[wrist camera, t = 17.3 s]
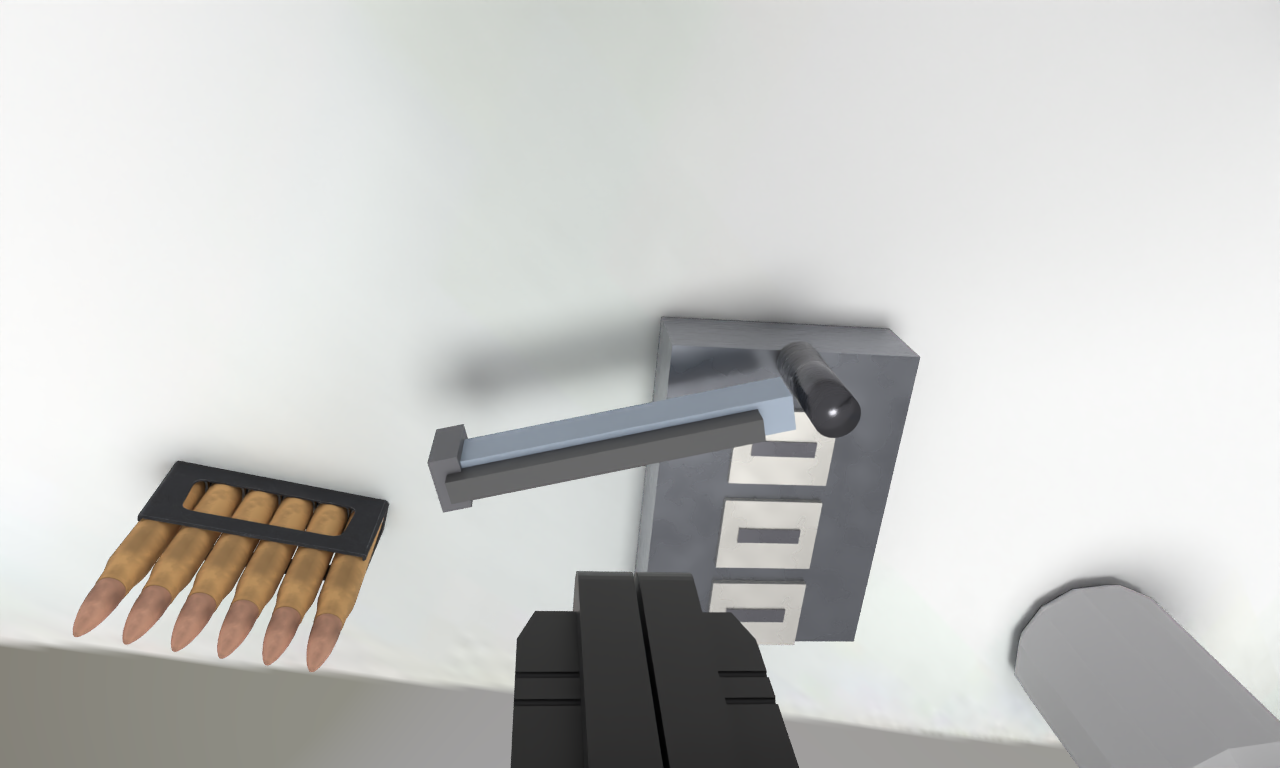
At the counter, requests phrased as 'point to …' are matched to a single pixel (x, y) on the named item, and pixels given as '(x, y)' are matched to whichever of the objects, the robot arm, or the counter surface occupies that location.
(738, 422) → the bar
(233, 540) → the ammunition clip
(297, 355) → the counter surface
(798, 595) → the grey block
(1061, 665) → the jar
